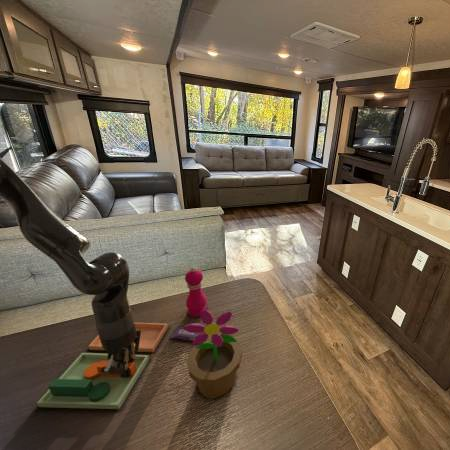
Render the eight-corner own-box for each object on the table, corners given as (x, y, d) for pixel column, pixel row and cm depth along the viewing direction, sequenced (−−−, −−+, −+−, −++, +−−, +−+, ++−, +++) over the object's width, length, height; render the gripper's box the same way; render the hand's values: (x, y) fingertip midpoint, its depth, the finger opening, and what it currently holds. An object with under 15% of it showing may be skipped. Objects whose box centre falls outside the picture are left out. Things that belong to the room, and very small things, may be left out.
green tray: (39, 408, 61) (36, 403, 60) (83, 357, 74) (82, 352, 73) (119, 410, 62) (117, 405, 61) (149, 360, 75) (148, 355, 75)
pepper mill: (185, 319, 91) (180, 274, 83) (188, 305, 98) (183, 262, 90) (206, 316, 93) (203, 272, 85) (207, 303, 100) (204, 261, 92)
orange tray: (89, 351, 76) (87, 346, 75) (111, 325, 86) (110, 321, 85) (153, 353, 77) (152, 348, 77) (168, 328, 87) (167, 323, 86)
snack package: (169, 335, 82) (177, 324, 86) (170, 340, 82) (178, 328, 87) (203, 340, 81) (209, 328, 86) (204, 344, 82) (210, 332, 87)
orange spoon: (80, 380, 68) (76, 370, 66) (92, 365, 72) (89, 356, 70) (130, 381, 68) (127, 372, 67) (139, 367, 72) (137, 358, 71)
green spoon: (114, 385, 67) (111, 376, 66) (102, 402, 63) (99, 392, 62) (63, 383, 66) (59, 374, 65) (48, 401, 62) (43, 391, 61)
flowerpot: (186, 412, 63) (173, 323, 52) (193, 362, 76) (184, 282, 64) (243, 399, 67) (243, 315, 56) (240, 354, 80) (240, 277, 68)
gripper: (118, 307, 69) (129, 350, 76) (80, 348, 57) (97, 397, 63) (146, 308, 70) (154, 351, 77) (114, 350, 57) (127, 397, 64)
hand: (128, 372), depth 70 cm, fingers closed on orange spoon, 2 cm apart
